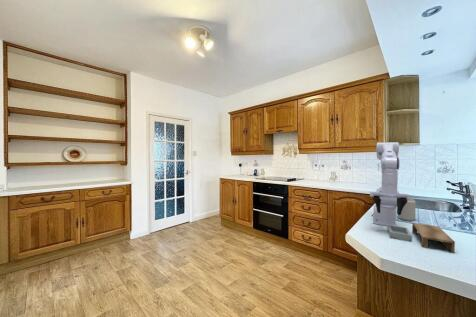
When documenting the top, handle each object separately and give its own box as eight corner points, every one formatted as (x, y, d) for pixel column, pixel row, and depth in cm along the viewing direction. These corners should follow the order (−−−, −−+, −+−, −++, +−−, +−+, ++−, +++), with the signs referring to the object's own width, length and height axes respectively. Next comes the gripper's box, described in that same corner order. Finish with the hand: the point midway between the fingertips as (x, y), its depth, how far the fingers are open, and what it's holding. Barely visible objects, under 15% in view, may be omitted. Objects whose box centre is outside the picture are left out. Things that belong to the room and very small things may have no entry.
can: (416, 222, 106) (417, 199, 106) (398, 219, 110) (399, 197, 110) (413, 218, 112) (414, 197, 112) (396, 216, 116) (397, 195, 116)
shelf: (422, 247, 78) (422, 236, 78) (412, 231, 93) (412, 222, 93) (454, 253, 73) (454, 241, 73) (438, 236, 88) (438, 226, 88)
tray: (390, 238, 86) (390, 231, 86) (387, 230, 95) (387, 224, 95) (411, 241, 82) (411, 235, 82) (406, 233, 91) (407, 227, 91)
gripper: (372, 183, 91) (372, 213, 91) (413, 185, 85) (412, 217, 86) (369, 181, 97) (368, 209, 98) (406, 183, 92) (405, 213, 92)
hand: (388, 213), depth 92 cm, fingers open, 7 cm apart
